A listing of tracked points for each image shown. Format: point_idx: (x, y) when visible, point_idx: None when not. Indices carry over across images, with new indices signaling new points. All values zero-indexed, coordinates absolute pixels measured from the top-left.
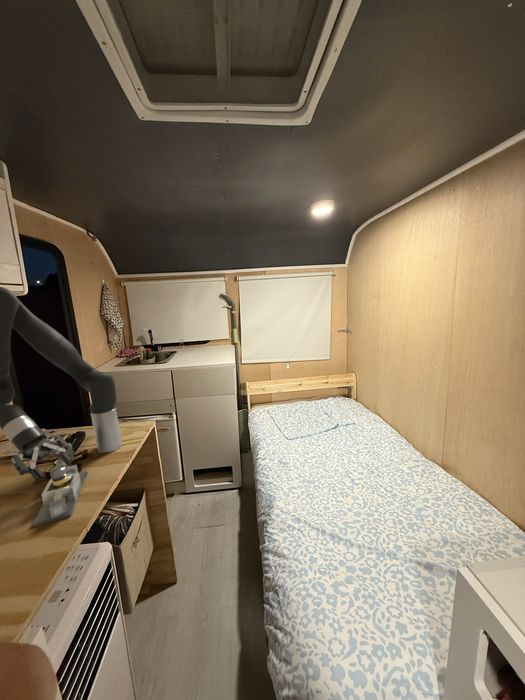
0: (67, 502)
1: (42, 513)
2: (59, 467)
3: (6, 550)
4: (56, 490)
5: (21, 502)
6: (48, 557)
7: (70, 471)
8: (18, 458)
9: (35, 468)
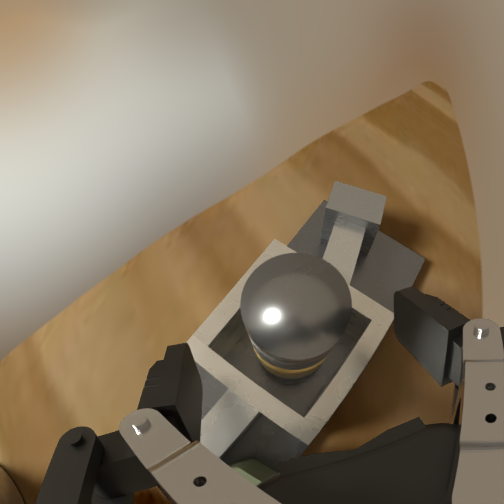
0: None
1: (392, 287)
2: (279, 311)
3: (476, 230)
4: None
5: None
6: (398, 132)
7: None
8: None
9: (458, 322)
